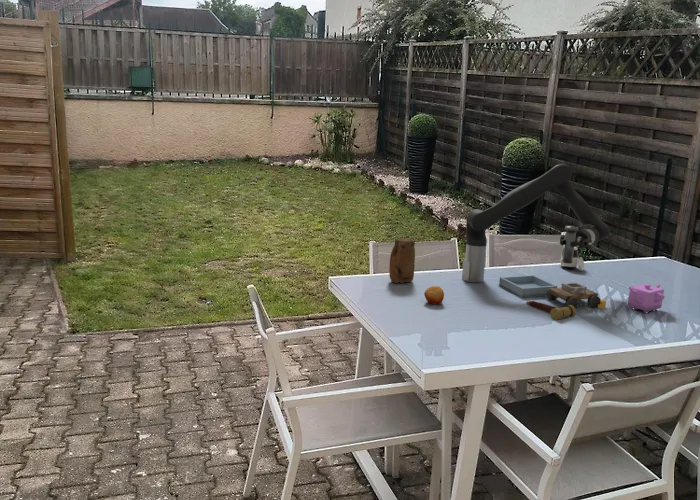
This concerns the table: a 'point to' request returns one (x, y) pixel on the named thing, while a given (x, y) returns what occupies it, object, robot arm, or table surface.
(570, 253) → the pin
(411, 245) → the block
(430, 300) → the fruit
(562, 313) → the gavel
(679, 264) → the table surface
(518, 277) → the tray
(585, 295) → the wheeled pole base
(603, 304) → the wheel chock
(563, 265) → the spread jar
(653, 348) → the table surface
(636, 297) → the teapot
